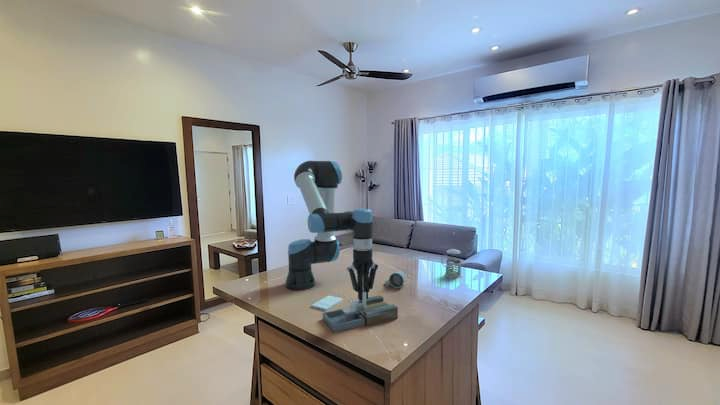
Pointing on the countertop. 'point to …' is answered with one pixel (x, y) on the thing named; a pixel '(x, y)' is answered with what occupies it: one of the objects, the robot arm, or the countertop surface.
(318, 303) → the external hard drive
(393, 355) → the countertop surface
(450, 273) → the french press
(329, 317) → the chip tray
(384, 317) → the slot board
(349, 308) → the aluminium chip
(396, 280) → the ceramic mug
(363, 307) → the aluminium chip
